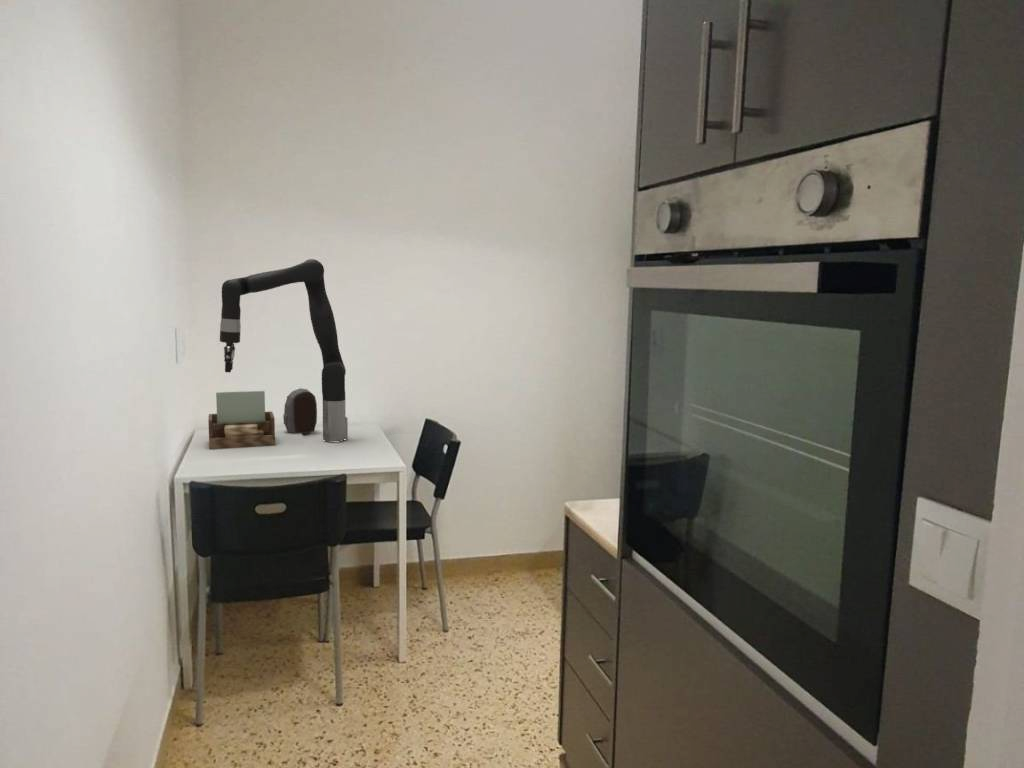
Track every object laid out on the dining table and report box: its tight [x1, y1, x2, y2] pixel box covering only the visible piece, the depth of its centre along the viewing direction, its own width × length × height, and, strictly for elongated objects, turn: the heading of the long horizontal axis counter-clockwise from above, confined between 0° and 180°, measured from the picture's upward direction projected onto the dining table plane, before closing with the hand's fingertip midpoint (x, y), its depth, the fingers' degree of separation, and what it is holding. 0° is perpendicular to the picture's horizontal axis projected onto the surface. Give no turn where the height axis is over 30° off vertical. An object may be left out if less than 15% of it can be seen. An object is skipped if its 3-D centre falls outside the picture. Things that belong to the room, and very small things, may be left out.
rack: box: [207, 410, 276, 450], centre depth 288 cm, size 24×14×12 cm, turn 112°
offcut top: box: [224, 424, 258, 434], centre depth 285 cm, size 12×5×2 cm, turn 109°
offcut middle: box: [225, 430, 264, 438], centre depth 286 cm, size 14×5×2 cm, turn 115°
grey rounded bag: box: [282, 387, 318, 435], centre depth 313 cm, size 15×8×20 cm, turn 136°
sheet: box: [215, 390, 266, 424], centre depth 291 cm, size 18×2×20 cm, turn 112°
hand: (228, 370), depth 289 cm, fingers open, 8 cm apart
